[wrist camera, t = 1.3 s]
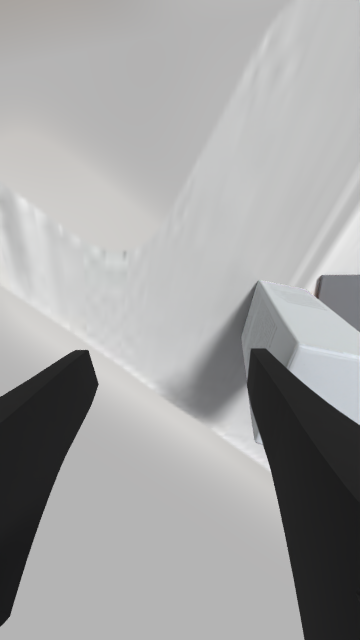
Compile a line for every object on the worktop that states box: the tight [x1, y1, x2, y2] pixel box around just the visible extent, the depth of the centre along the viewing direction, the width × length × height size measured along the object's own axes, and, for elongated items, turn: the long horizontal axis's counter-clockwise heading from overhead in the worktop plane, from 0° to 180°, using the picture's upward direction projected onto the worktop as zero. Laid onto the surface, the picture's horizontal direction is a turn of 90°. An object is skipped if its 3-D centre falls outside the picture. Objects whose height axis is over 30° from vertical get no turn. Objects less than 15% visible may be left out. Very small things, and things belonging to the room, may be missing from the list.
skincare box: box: [241, 280, 360, 445], centre depth 15 cm, size 6×4×12 cm
